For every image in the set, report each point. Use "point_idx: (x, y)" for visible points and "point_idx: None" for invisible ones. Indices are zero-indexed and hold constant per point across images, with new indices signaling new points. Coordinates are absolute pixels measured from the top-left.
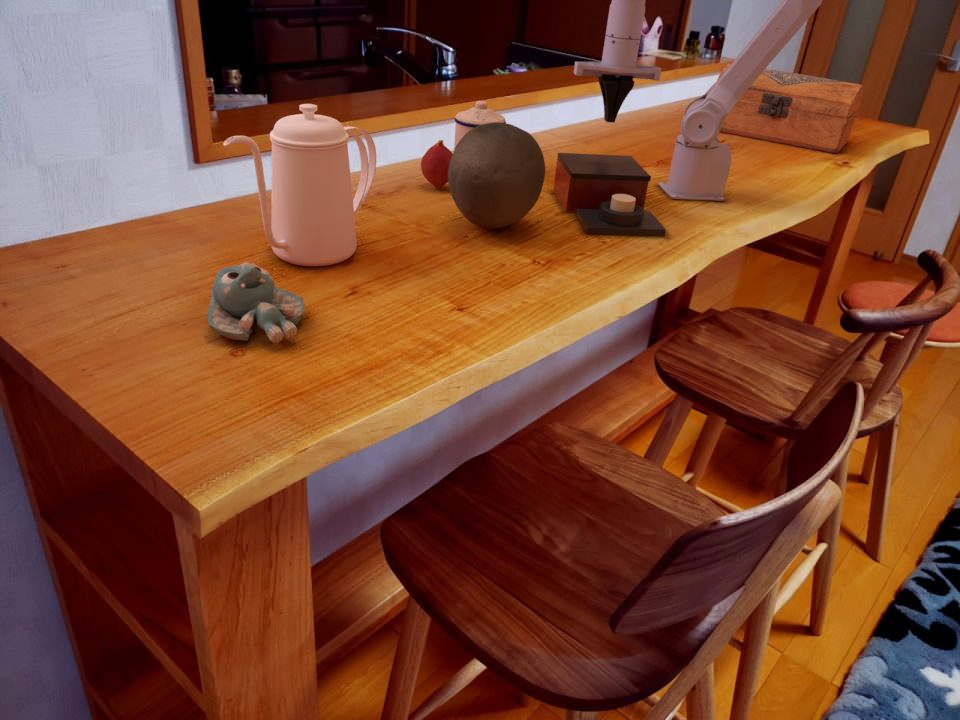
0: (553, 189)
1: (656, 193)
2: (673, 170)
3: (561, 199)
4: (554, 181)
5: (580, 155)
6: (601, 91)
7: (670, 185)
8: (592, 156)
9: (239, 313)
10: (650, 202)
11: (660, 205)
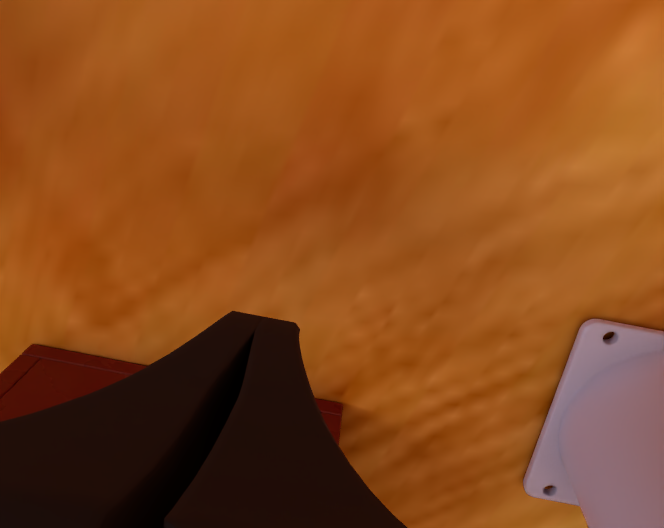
0: (26, 350)
1: (502, 406)
2: (588, 501)
3: None
4: (6, 369)
5: None
6: (54, 407)
7: (565, 449)
8: None
9: None
10: (408, 492)
11: (431, 522)
